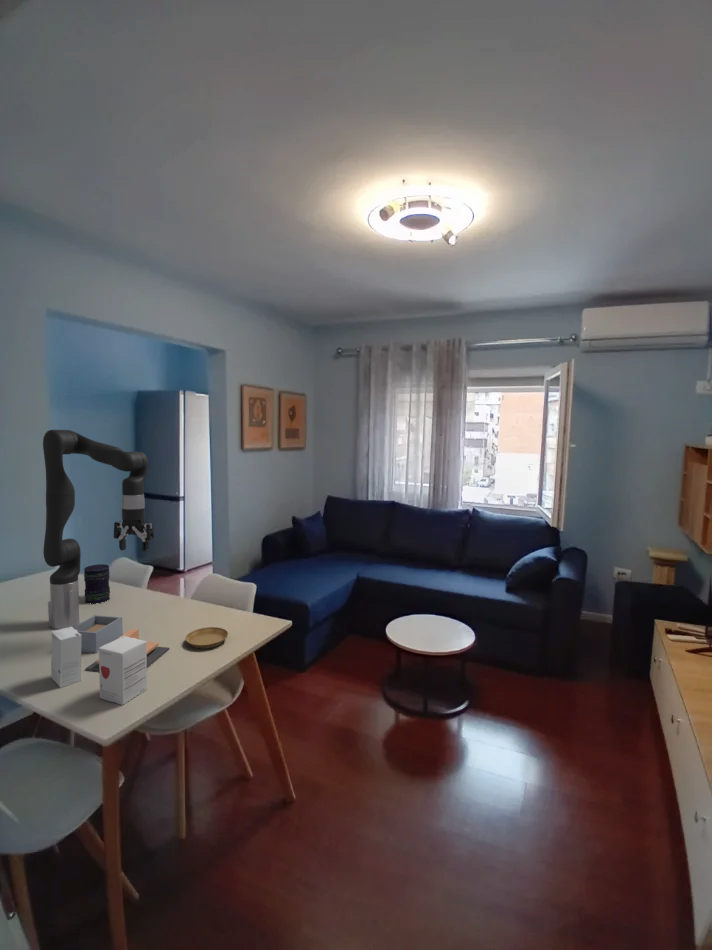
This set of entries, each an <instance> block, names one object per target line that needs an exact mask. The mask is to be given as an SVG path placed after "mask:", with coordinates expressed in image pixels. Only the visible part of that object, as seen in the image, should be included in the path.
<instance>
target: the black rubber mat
mask: <svg viewBox="0 0 712 950" xmlns="http://www.w3.org/2000/svg"><path fill="white" fill-rule="evenodd" d="M169 650H170V647H168V646H167V647H165V646H157V647H156V648H154V649H153V650H152V651H151V652H150V653H148V654H147V669H148V668H149V667H151V666H152V665H153V664H154V663H155V662H156V661H157V660H159V659H160V658H161V657H162V656H163V655H165V654H166V653H167V652H169ZM151 664H152V665H151ZM86 670H92V671H91V672H96V671H99V663H97V660H96V661H94V662H92V663H91V664H90V665H88V666H87V667H86V668H85V671H86Z"/></svg>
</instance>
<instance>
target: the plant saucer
mask: <svg viewBox="0 0 712 950" xmlns="http://www.w3.org/2000/svg"><path fill="white" fill-rule="evenodd" d="M228 636H229V632H228V630H227V629H225V628H222V627H218V626H208V627H202V628H198V629H194V630H192V631H190V632H188V634H186V636H185V638H184V639H185V641H186V642H187V644H189V645H190V646H191V647H192V648H195V649H199V648H200V650H201V649H204V650H205V648H207V649H211V648H215V647H217V646H219V645H221V644H222V643H223V642H224V641H225V640H226V639H227V638H228Z"/></svg>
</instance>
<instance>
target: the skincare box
mask: <svg viewBox="0 0 712 950" xmlns="http://www.w3.org/2000/svg"><path fill="white" fill-rule="evenodd" d="M73 627H74V626H73ZM73 627H68V628H64V629H55V630H52V631H51V652H50V653H51V656H50V657H51V660H50V661H51V664H50V665H51V667H50V670H51V671H50V673H51V674H50V677H51V678H50V679H52V680H53V681H54V682H55V683H56V684H57V686H58V687H59V688H63V687H67V686H69V685H72V683H73V684H75V682H76V683H78V682H77V681H79V682H81V681H82V652H81V634H79V633H78V632H77V630H75V629H74V628H73Z"/></svg>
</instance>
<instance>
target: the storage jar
mask: <svg viewBox="0 0 712 950" xmlns="http://www.w3.org/2000/svg"><path fill="white" fill-rule="evenodd" d="M83 569H84V570H83V571H84V572H83V577H84V578H83V580H84V585H85V586H84V587H85V588H84V603H85V602H86V603H85V604H87V603H91V604H90V605H97V604H96V603H99V604H102V603H101V602H104V603H106V602H108V601H110V598H111V597H110V596H111V590H110V589H111V588H110V581H109V579H110V566H109V565H108V564H100V563H99V564H93V565H92V564H91V565H89V566H86V567H84V568H83ZM107 600H108V601H107ZM105 601H106V602H105Z"/></svg>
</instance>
